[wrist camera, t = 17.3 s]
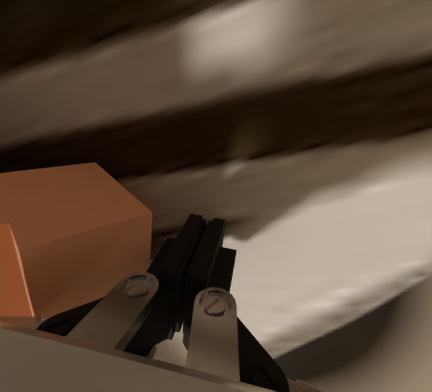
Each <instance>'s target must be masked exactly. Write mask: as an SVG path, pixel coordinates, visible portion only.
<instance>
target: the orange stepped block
mask: <svg viewBox="0 0 432 392" xmlns="http://www.w3.org/2000/svg"><path fill="white" fill-rule="evenodd" d="M151 235H152V212H151V211H150V210H149V209H148V208H147V207H146V206H145V205H143V204H142V203H141V202H140V201H139V200H138V199H137V198H135V197H134V196H133V195H132V194H131V193H130V192H129V191H127V190H126V189H125V188H124V187H123V186H122V185H121V184H119V183H118V182H117V181H116V180H115V179H114V178H113V177H111V176H110V175H109V174H108V173H107V172H106V171H105V170H104V169H102V168H101V167H100V166H99V165H98V164H97V163H96V162H93V163H84V164H76V165H67V166H58V167H50V168H41V169H32V170H24V171H15V172H6V173H0V316H30V317H43V318H44V320H47V319H48V318H50V317H52V316H54V315H56V314H59V313H62V312H64V311H67V310H70V309H73V308H75V307H78V306H81V305H84V304H86V303H89V302H92V301H95V300H97V299H100V298H103V297H105V296H106V295H107V294H108V293H109V292H110V291H111V290H112V289H113V288H114V287H115V286H116V285H117V284H118V283H119V282H120V281H121V280H122V279H123V278H124V277H126V276H127V275H130V274H132V273H136V272H146V271H147V270H148V268H149V266H150V257H151Z"/></svg>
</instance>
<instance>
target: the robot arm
mask: <svg viewBox="0 0 432 392" xmlns="http://www.w3.org/2000/svg"><path fill="white" fill-rule="evenodd" d="M224 229H225V220H224V219H218V218H214V219H213V221H212V220H209V221H208V224H207V226H206V219H203V216H201V215H195V214H190V216H189V218H188V219H187V221H186V223H185V224H184V226H183V228H182V230H181V231H180V233H179V235H178V237H177V238H170V237H169V238H168V239H167V240H166V241H165V243H164V245H163V246H162V248H161V249H160V251H159V252H158V254H157V256H156V257H155V259H154V260H153V262H152V263H151V265H150V266H149V268H148V270H147V271H146V272H136V273H132V274H130V275H127V276H126V277H124V278H123V279H122V280H121V281H120V282H119V283H118V284H117V285H116V286H115V287H114V288H113V289H112V290H111V291H110V292H109V293H108V294H107V295H106V296H105V297H103V298H100V299H97V300H95V301H92V302H89V303H86V304H84V305H81V306H78V307H75V308H73V309H70V310H67V311H64V312H62V313H59V314H56V315H54V316H52V317H50V318H48V319H47V320H44V318H43V317H30V316H0V392H322V391H320V390H318V389H316V388H314V387H312V386H310V385H308V384H306V383H304V382H302V381H300V380H297V383H295V382H294V381H292V380H290V379H288V378H286V376H285V374H284V373H283V371H282V370H281V368H280V367H279V366H278V365H277V364H276V362H275V361H274V360H273V359H272V358H271V356H270V355H269V354H268V353H267V352H266V350H265V349H264V348H263V347H262V346H261V344H260V343H259V342H258V341H257V340H256V338H255V337H254V336H253V335H252V334H251V333H250V331H249V330H248V329H247V328H246V327H245V325H244V324H243V323H242V322H241V321H240V319H239V318H238V317H237V309H236V302H235V299H234V297H233V296H232V294H230V293H229V292H230V286H231V281H232V275H233V269H234V263H235V257H236V250H234V249H228V248H223V247H222V245H223V237H224ZM182 324H183V333H184V334H183V344H184V346H185V347H186V349H187V351H188V353H187V360H186V367H182V366H178V365H174V364H171V363H167V362H163V361H159V360H155V359H152V358H153V357H154V355H155V353H156V351H157V349H158V346H159V343H160V342H162V341H164V340H166V339H170V340H172V338H173V336H174V333H175V331H176V332H180V330H181V327H182Z"/></svg>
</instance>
